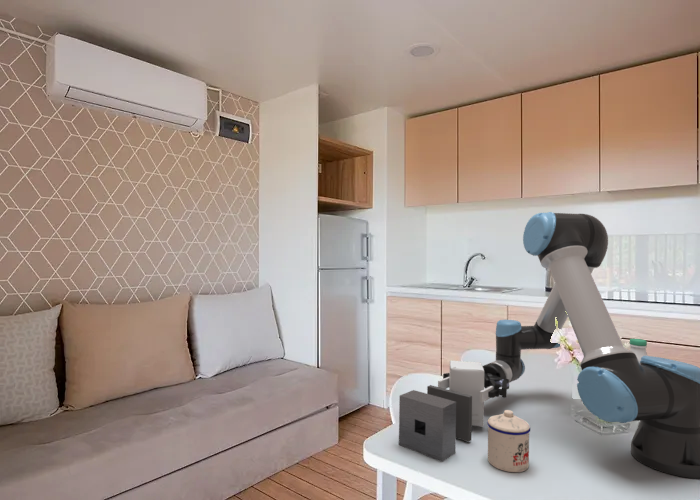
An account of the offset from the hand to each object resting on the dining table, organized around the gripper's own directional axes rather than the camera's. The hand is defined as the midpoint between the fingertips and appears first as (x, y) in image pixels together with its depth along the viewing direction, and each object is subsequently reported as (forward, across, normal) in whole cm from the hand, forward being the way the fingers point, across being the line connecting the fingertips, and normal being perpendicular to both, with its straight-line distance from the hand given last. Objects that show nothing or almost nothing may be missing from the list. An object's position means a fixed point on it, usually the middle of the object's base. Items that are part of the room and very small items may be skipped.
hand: (459, 391), depth 114 cm
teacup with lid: (+8, -17, -10) cm, 22 cm away
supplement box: (-4, 0, -9) cm, 9 cm away
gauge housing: (+12, +1, -10) cm, 16 cm away
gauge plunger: (+10, +1, -9) cm, 14 cm away
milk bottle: (-61, -30, -10) cm, 69 cm away
